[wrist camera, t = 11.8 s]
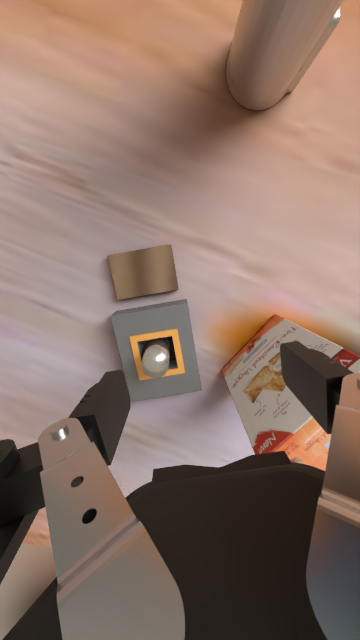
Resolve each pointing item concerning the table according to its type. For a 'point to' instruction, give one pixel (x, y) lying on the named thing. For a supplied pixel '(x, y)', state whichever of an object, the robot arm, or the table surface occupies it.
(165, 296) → the table surface
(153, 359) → the steel peg
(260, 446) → the cracker box
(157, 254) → the brown rectangular block
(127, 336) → the hole block
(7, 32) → the table surface
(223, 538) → the robot arm
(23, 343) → the table surface
